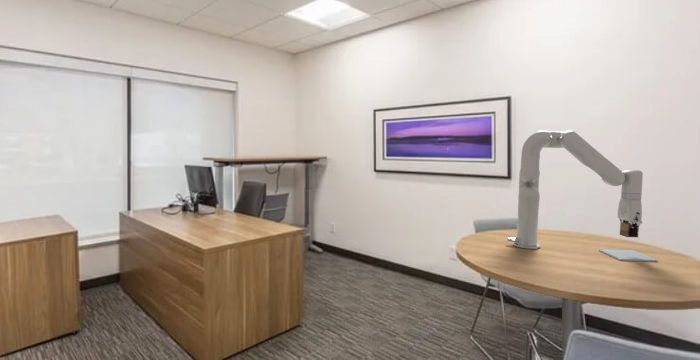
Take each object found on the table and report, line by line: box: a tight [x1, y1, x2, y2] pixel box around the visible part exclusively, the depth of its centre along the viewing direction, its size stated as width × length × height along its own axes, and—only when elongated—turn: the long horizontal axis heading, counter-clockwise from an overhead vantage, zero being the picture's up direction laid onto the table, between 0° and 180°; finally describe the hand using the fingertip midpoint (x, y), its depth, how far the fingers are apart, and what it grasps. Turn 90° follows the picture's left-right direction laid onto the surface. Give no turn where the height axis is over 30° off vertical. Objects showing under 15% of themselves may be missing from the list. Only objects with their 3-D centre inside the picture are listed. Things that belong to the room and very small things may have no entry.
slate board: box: [598, 248, 658, 263], centre depth 173 cm, size 16×16×1 cm
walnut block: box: [619, 222, 640, 238], centre depth 172 cm, size 5×5×6 cm
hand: (628, 234), depth 172 cm, fingers closed on walnut block, 5 cm apart
